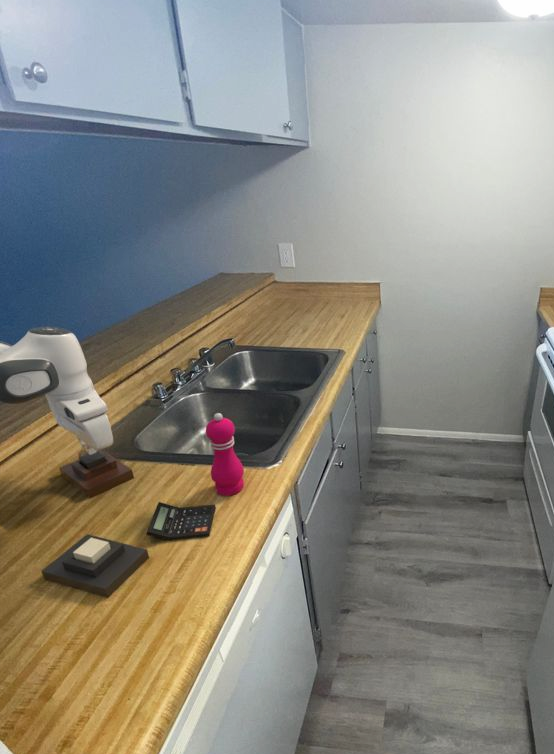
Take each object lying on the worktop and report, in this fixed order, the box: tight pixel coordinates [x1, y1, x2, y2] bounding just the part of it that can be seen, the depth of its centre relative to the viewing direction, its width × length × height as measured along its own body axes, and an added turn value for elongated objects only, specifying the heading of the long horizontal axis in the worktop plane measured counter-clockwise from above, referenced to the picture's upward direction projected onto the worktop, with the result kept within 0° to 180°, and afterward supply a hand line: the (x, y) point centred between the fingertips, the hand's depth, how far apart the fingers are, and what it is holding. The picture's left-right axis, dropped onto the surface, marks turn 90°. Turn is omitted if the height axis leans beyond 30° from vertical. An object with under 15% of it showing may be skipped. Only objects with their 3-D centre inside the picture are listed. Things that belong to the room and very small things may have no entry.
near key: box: [73, 538, 111, 564], centre depth 87 cm, size 4×4×2 cm
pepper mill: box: [205, 412, 245, 497], centre depth 107 cm, size 7×7×20 cm
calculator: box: [145, 501, 216, 541], centre depth 99 cm, size 9×12×3 cm
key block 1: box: [58, 449, 135, 499], centre depth 112 cm, size 14×10×4 cm
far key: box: [78, 451, 106, 469], centre depth 111 cm, size 4×4×2 cm
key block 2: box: [40, 533, 150, 598], centre depth 88 cm, size 14×10×4 cm
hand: (90, 451), depth 110 cm, fingers closed
